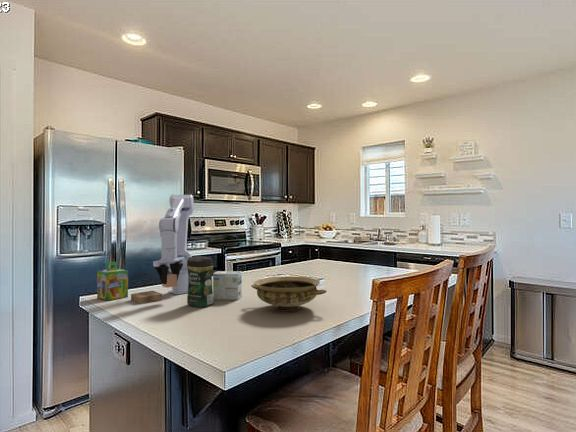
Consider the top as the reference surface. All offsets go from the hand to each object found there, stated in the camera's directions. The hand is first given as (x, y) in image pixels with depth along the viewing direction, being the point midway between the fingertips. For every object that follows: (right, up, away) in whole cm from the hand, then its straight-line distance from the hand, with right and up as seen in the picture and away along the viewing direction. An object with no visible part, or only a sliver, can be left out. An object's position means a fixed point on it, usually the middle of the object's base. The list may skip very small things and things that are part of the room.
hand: (169, 282), depth 144 cm
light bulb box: (+22, -8, +6) cm, 24 cm away
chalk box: (-27, -8, +9) cm, 29 cm away
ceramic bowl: (+47, -8, -12) cm, 49 cm away
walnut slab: (-11, -8, +4) cm, 14 cm away
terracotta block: (0, -2, 0) cm, 2 cm away
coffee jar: (+13, -8, -5) cm, 16 cm away
